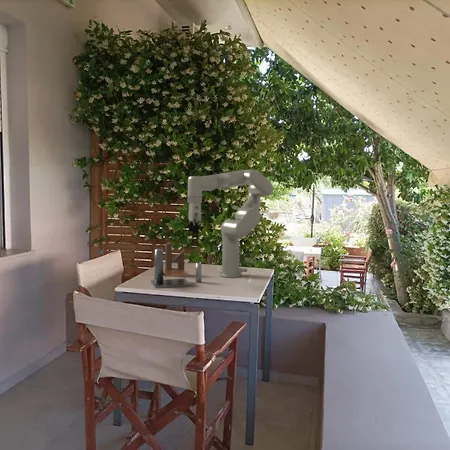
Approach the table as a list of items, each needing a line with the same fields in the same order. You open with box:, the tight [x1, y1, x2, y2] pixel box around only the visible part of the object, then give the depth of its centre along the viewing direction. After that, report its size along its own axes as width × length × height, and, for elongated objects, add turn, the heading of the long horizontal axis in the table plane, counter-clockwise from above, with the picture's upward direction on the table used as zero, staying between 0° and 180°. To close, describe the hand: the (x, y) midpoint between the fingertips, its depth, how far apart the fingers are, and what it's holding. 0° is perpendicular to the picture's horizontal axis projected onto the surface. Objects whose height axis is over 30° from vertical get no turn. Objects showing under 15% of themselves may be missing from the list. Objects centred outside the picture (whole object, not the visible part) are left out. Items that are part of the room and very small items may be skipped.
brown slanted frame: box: [164, 242, 185, 271], centre depth 249 cm, size 4×11×18 cm, turn 99°
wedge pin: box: [195, 262, 202, 284], centre depth 231 cm, size 3×3×10 cm
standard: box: [150, 248, 192, 289], centre depth 225 cm, size 18×14×18 cm
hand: (193, 232), depth 233 cm, fingers open, 9 cm apart
